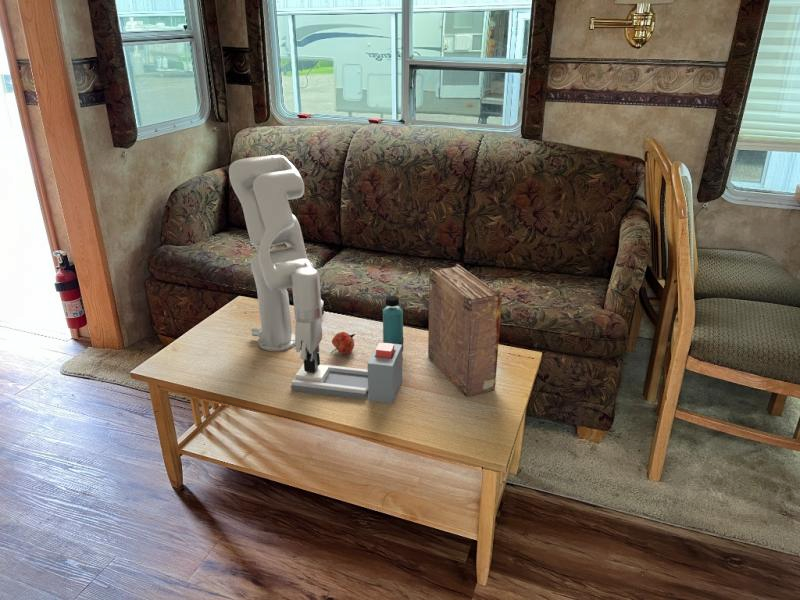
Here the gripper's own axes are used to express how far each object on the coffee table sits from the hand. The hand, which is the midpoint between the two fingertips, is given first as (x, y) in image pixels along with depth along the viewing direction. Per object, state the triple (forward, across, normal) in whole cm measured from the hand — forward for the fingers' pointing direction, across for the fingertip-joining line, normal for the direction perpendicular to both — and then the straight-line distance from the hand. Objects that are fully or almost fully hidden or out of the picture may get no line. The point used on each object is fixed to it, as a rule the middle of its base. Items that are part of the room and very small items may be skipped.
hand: (312, 367), depth 181 cm
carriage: (+3, 0, 0) cm, 3 cm away
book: (+5, -14, +42) cm, 44 cm away
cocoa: (+5, -42, -14) cm, 45 cm away
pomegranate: (+5, -18, +4) cm, 19 cm away
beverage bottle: (+5, -20, +20) cm, 28 cm away
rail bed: (+5, 0, +6) cm, 8 cm away
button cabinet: (+5, 0, +22) cm, 22 cm away
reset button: (-5, 0, +22) cm, 23 cm away
